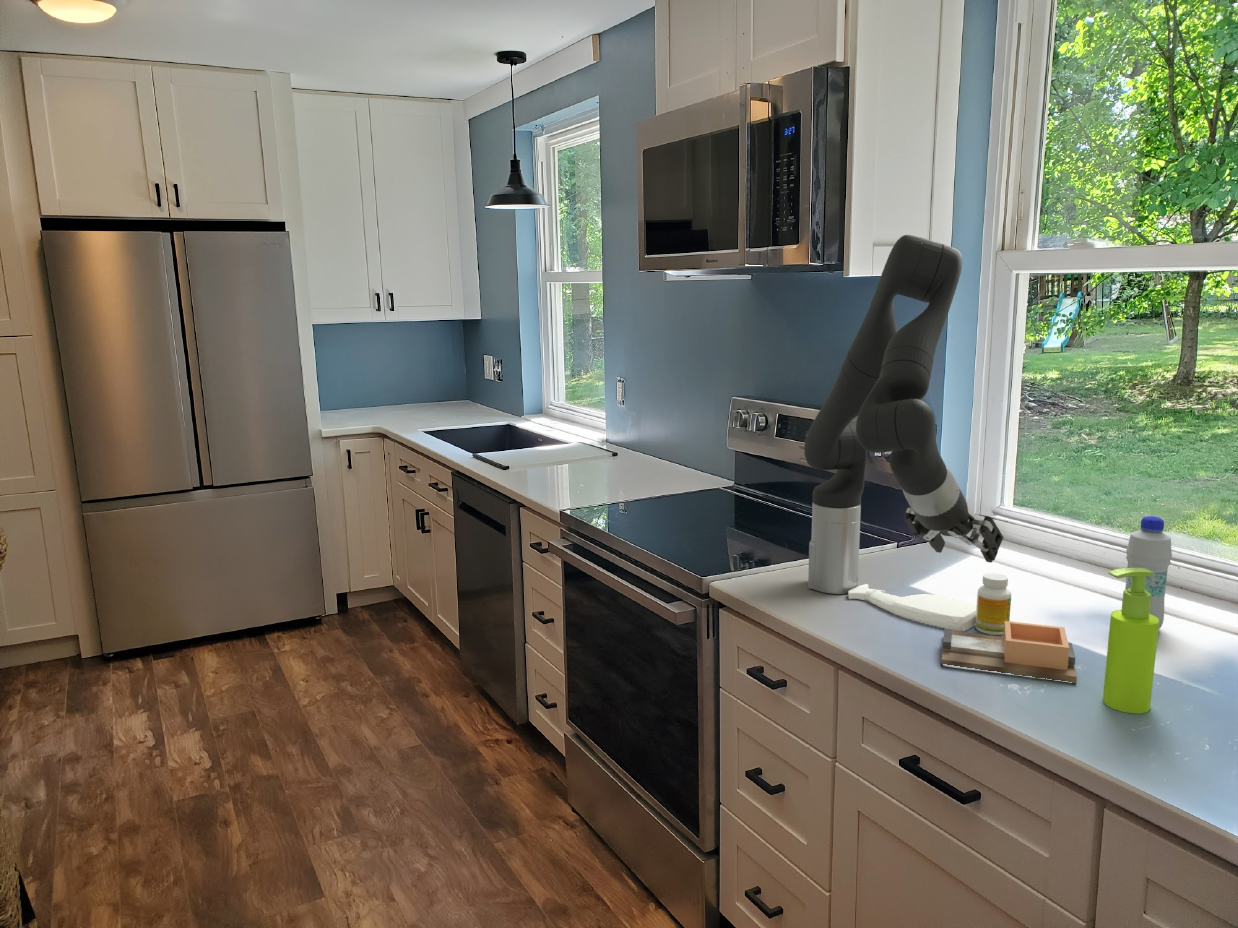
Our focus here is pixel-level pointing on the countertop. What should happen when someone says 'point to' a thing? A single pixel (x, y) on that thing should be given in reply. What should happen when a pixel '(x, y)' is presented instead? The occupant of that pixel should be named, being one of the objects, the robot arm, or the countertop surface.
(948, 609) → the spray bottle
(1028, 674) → the rail board
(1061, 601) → the countertop surface
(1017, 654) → the orange open box
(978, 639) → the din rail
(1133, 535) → the bottle
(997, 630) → the supplement bottle
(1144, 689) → the soap dispenser
